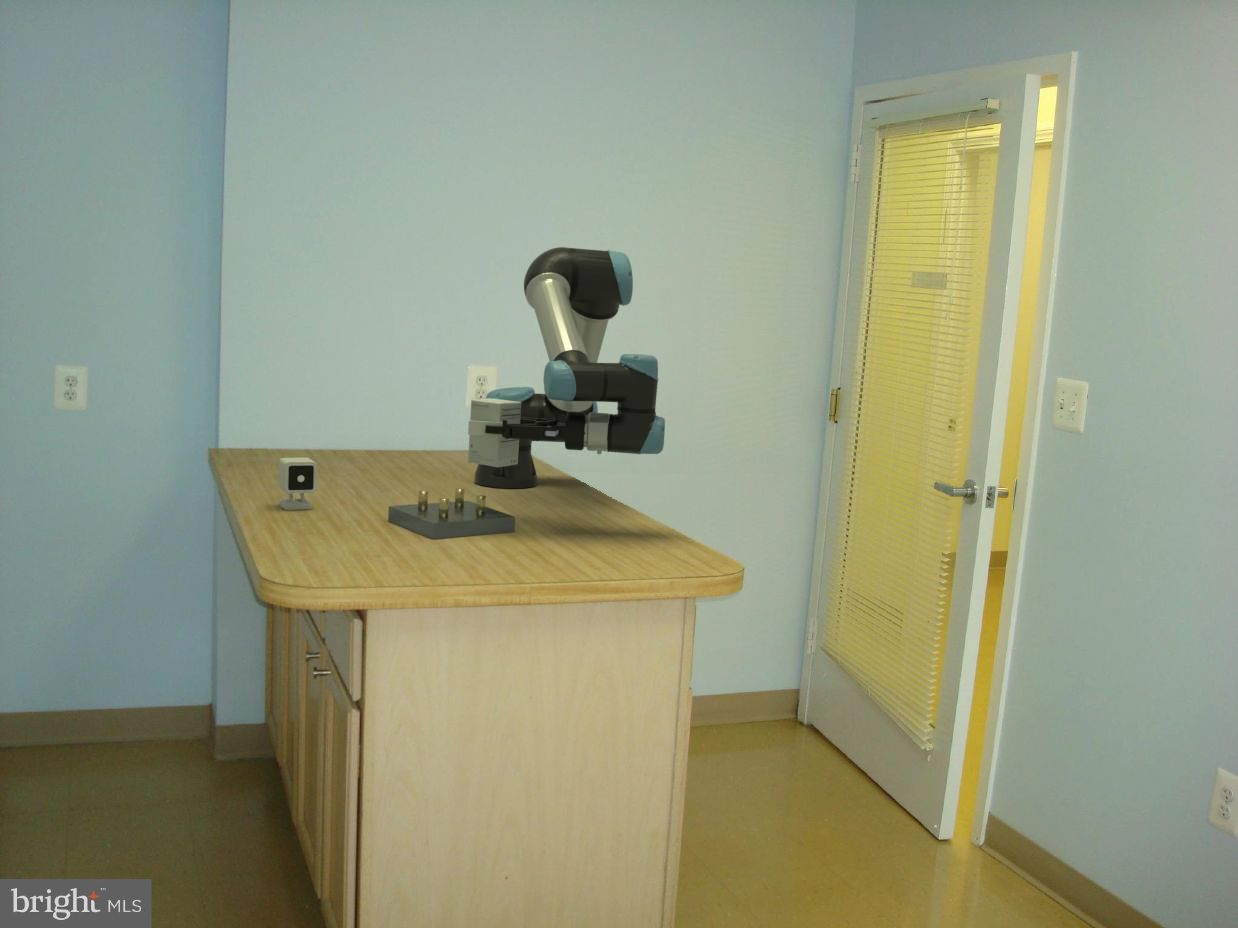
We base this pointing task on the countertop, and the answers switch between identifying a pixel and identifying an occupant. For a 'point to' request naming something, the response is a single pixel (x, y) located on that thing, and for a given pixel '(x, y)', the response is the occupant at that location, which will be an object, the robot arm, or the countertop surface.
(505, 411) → the supplement box
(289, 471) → the security camera
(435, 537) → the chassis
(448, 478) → the countertop surface
